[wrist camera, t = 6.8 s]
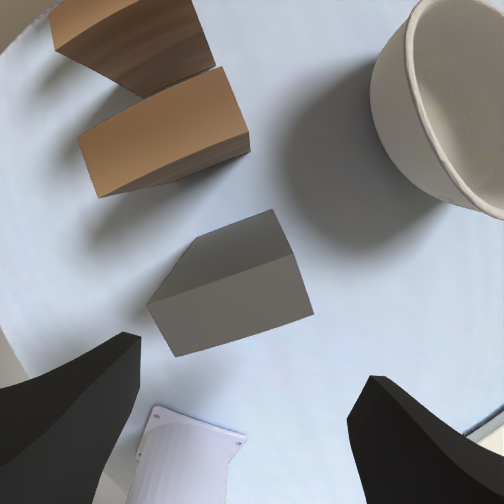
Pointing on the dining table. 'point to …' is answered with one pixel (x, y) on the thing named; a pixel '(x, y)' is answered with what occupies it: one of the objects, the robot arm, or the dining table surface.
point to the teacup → (445, 102)
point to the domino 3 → (230, 287)
